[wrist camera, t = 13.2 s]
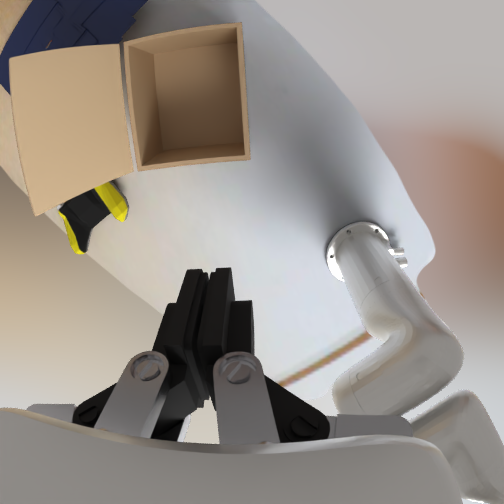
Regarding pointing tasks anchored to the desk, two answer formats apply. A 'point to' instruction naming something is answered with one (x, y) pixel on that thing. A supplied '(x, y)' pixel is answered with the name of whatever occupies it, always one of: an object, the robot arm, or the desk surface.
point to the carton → (188, 96)
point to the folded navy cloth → (67, 27)
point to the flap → (69, 121)
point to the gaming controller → (91, 213)
